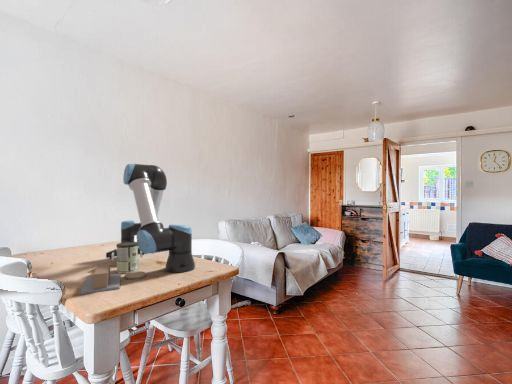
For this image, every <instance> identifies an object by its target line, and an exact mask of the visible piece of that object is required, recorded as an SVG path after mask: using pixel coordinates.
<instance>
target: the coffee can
mask: <svg viewBox="0 0 512 384" xmlns="http://www.w3.org/2000/svg"><path fill="white" fill-rule="evenodd" d="M138 248H139V247H138V244H137V241H134V242H124V243H121V242H120V243H117V244H116V250H117V256H116V274H127V273H130V272H136V271H139V254H138Z"/></svg>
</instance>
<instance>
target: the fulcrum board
mask: <svg viewBox="0 0 512 384" xmlns="http://www.w3.org/2000/svg"><path fill="white" fill-rule="evenodd" d="M121 278H122V273H114V274H111V262H106V263H105V262H104V263H97V266H96V268H95V269H94V272H93V275H92V276H91V277H89V276H88V277H86V279H85V281H84V283H83V285H82V287H81V290H80V291H79V295H86V294H92V293H98V292H99V293H102V292H107V291H114V290H120V286H121Z"/></svg>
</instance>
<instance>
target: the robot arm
mask: <svg viewBox="0 0 512 384" xmlns="http://www.w3.org/2000/svg"><path fill="white" fill-rule="evenodd" d="M122 176H123V178H122V179H123V184H124V185H127V186H128V188H129V189H130V190H131V191H132V192H133V197H134V200H135V204H136V208H137V209H136V210H137V213H138V217H139V222H136V223H135V221H134V220H123V221H121V224H120V243H124V242H135V236H136V242H137V244H138V255H140V258H141V259H142V258H143V256H144V255H148V254H150V255H151V254H156V253H163V252H168V257H167V260H166V262H165V271H166V272H169V273H184V272H189V271H193V270H194V269H195V268H196V262H195V259H194V257H193V253H192V252H193V249H192V248H193V247H192V239H193V238H192V237H193V234H192V227H191V226H189V225H181V224H169V225H168V227H164V224H163V223H162V221H161V222H160V221H159V218H158V214H159V211H160V206H161V201H162V198H163V194H164V191H165V190H166V189H167V185H168V183H167V182H168V181H167V176H166V174H165V171H164V170H163V169H162V168H161V167H159V166H158V165H155V164H142V163H141V164H139V163H137V164H136V163H128V164H126V165H125V168H124V172H123V175H122ZM105 257H106V258H107V259H110V260H111V261H114V259H115V257H117V248H115V249H113V250H111V251H108V252H106V253H105Z"/></svg>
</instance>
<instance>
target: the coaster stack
mask: <svg viewBox="0 0 512 384" xmlns="http://www.w3.org/2000/svg"><path fill="white" fill-rule="evenodd" d="M146 276H147V274H146V272H145V271H141V270H140V271H139V270H137V271H135V272H130V273H124V279H125V280H126V281H135V280H140V279H143V278H146Z"/></svg>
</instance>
